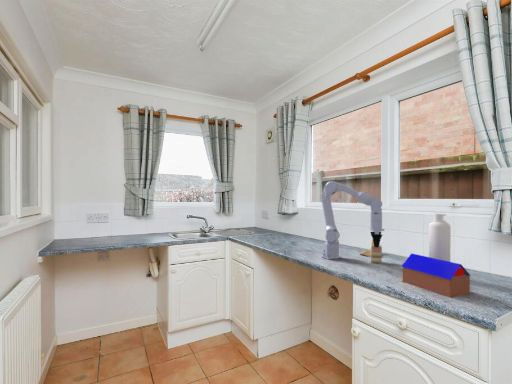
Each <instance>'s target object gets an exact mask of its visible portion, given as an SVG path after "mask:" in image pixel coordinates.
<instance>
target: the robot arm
mask: <svg viewBox="0 0 512 384" xmlns="http://www.w3.org/2000/svg"><path fill="white" fill-rule="evenodd" d="M337 192H344V193H346V194H348V195H351V196H352V197H354V198H356V199H357V202H359V203H362V204H363V205H365V206H367V207H370V229H369V231H370V235H371V237H372V240H373V243H374V247H379V245H381V244H380V243H381V240H382V237H383V234H382V232H385V228H383V208H382V207H383V201H382V200H381V199H379V198H377V197H376V196H373V195H371V194H369V193H368V192H367V191H360V192H359V191H357V190H355V189H353V188H352V187H349V186H348V185H346V184H343V183H340V182H337V181H333V180H329V181H327V183H326V184H325V185H324V186H323V190H322V193H321V196H320V199H321V204H322V205H321V206H322V210H323V215H324V220H325V224H326V225H325V226H326V227H325V239H326V240H325V242H323V243H321V255H320V257H322V258H324V259H327V260H337V259H343V257H342V256H340V241H339V239H340V232H339V231H338V228H337V225H336V223H335V222H336V221H335V216H334V212H333V211H334V210H333V207H332V201H331V198H332V197H333V196H334V195H335V194H336V193H337Z"/></svg>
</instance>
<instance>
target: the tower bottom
mask: <svg viewBox="0 0 512 384" xmlns="http://www.w3.org/2000/svg"><path fill="white" fill-rule="evenodd" d="M370 262H371V264H380V265H382V258H372V257H370Z"/></svg>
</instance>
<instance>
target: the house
mask: <svg viewBox="0 0 512 384" xmlns="http://www.w3.org/2000/svg"><path fill="white" fill-rule="evenodd" d="M401 267H402V283H404V284H408V285H410V286H414V287H416V288H420V289H423V290H425V291H430V292H431V293H435V294H437V295H441V296H444V297H446V298H451V299H452V298H454V297H460V296H464V295H469V294H471V292H470V291H471V290H470V289H471V288H470V287H471V283H470V282H471V281H470V280H471V277H472V275H471V273H469V272H468V271H467V270H466V268H465V267H464V266H463V265H462V264H461V263H456V262H453V261H450V262H448V261H444V260H439V259H435V258H430V257H429V256H425V255H421V254H420V255H419V254H418V253H417V254H415V253H410V254H409V256H408V257H407V258H406V260H404V262H403V264H402V265H401Z"/></svg>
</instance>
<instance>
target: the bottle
mask: <svg viewBox="0 0 512 384" xmlns="http://www.w3.org/2000/svg"><path fill="white" fill-rule="evenodd" d="M428 257H430V258H435V259H439V260H444V261H448V262H451V225H450V224H449V223H448V222H447V215H446V213H433V220H432V222H430V223H429V225H428Z"/></svg>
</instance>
